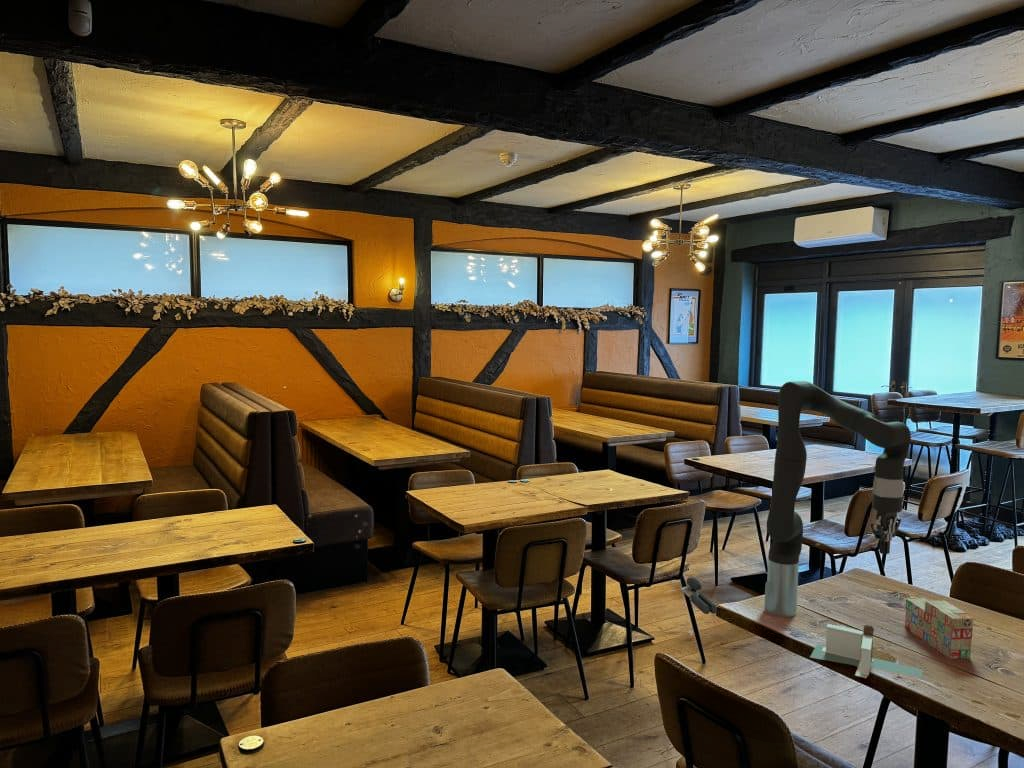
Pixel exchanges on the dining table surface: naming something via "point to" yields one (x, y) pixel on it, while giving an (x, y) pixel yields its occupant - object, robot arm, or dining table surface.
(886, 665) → the board
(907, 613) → the stack of blocks
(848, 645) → the panel
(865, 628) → the brown rounded rod
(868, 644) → the panel
